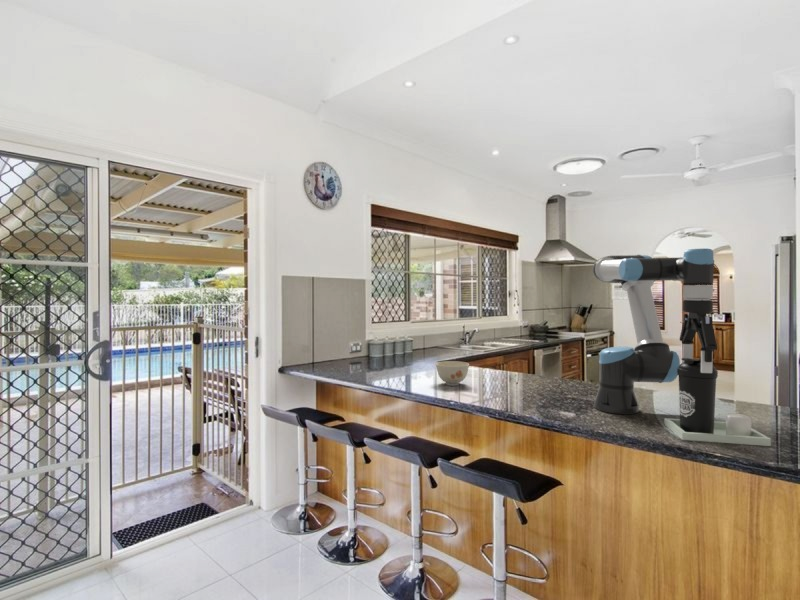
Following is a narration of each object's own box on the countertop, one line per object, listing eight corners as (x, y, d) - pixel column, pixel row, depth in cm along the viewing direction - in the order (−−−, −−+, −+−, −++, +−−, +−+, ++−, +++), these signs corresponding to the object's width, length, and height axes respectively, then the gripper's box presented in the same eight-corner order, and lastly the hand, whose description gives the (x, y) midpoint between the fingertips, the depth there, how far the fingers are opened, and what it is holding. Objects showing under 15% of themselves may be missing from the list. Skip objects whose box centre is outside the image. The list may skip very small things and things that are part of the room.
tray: (682, 443, 125) (682, 432, 125) (664, 427, 140) (664, 418, 140) (770, 449, 120) (770, 438, 120) (742, 432, 134) (742, 422, 134)
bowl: (434, 387, 199) (434, 366, 199) (437, 380, 215) (437, 360, 215) (469, 388, 197) (469, 367, 197) (469, 381, 213) (469, 361, 212)
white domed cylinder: (731, 438, 126) (732, 418, 126) (721, 432, 132) (722, 412, 132) (755, 440, 124) (755, 419, 124) (744, 433, 130) (744, 414, 130)
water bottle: (669, 428, 135) (669, 356, 135) (699, 427, 136) (699, 355, 136) (693, 439, 125) (694, 361, 125) (725, 438, 126) (726, 360, 126)
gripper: (732, 301, 117) (731, 377, 118) (694, 298, 141) (693, 361, 142) (701, 301, 119) (700, 376, 120) (669, 298, 143) (668, 360, 144)
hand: (696, 368), depth 131 cm, fingers open, 13 cm apart
